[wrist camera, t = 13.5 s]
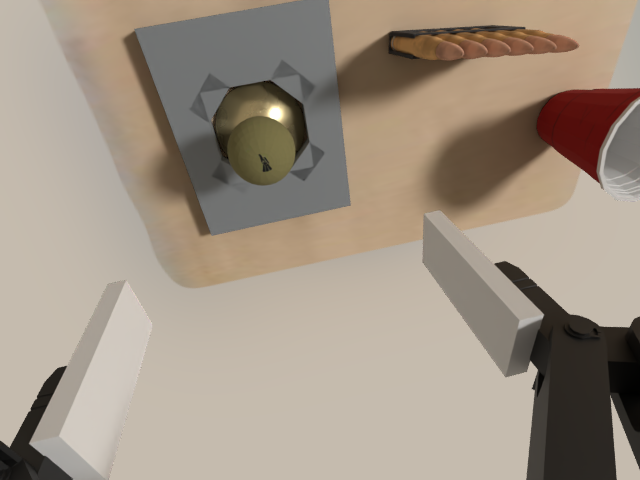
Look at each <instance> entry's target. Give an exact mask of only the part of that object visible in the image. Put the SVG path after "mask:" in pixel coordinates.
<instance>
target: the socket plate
mask: <svg viewBox="0 0 640 480" xmlns="http://www.w3.org/2000/svg"><path fill="white" fill-rule="evenodd" d="M134 30H135V32H136V35H137V38H138V40H139V43H140V46H141V48H142V51H143V54H144V56H145V59H146V62H147V64H148V67H149V70H150V72H151V75H152V78H153V80H154V83H155V86H156V88H157V91H158V94H159V96H160V99H161V102H162V104H163V107H164V110H165V112H166V115H167V118H168V120H169V123H170V126H171V128H172V131H173V134H174V136H175V139H176V142H177V144H178V147H179V150H180V152H181V155H182V158H183V160H184V163H185V166H186V168H187V171H188V174H189V176H190V179H191V182H192V184H193V187H194V190H195V192H196V195H197V198H198V200H199V203H200V206H201V208H202V211H203V214H204V216H205V219H206V222H207V224H208V227H209V230H210V232H211V235H212V236H213V235H217V234H222V233H226V232H231V231H235V230H240V229H245V228H249V227H254V226H258V225H263V224H267V223H272V222H277V221H281V220H286V219H290V218H295V217H300V216H304V215H309V214H313V213H318V212H322V211H327V210H332V209H336V208H341V207H345V206H350V205H351V204H350V195H349V185H348V176H347V167H346V157H345V148H344V139H343V129H342V120H341V111H340V101H339V92H338V83H337V73H336V64H335V55H334V45H333V36H332V27H331V17H330V8H329V0H301V1H295V2H289V3H284V4H278V5H272V6H266V7H260V8H254V9H249V10H243V11H237V12H231V13H225V14H220V15H214V16H208V17H202V18H196V19H190V20H185V21H179V22H173V23H167V24H161V25H155V26H150V27H144V28H138V29H134ZM267 80H271V81H273V82H274V83H275V84H277V85H278V86H276V85H274V84H271V83H267V82H262V81H267ZM235 86H238V87H236V88H235V89H233V90H232V91H231V92H229V93H228V94H227V96H226V97H225V98H224V96H225V95H226V93H227V91H228V89H229V88H230V87H235ZM280 87H281V88H280ZM291 95H292V96H293V97H294V98H296V99H297V100H298V101H300V102H301V103H302V108H303V114H304V119H303V115H302V112H301V110H300V108H299V106H298V104H297V103H296V101H295V100H294V98H293V97H292V96H291ZM223 98H224V99H223ZM222 100H223V101H222ZM220 103H221V104H220ZM219 105H220V106H219ZM218 107H219V108H218ZM217 109H218V112H217V115H216V124H215V127H216V134H217V137H216V134H215V131H214V127H213V124H212V121H211V119H212V118H213V116H214V114H215V112H216V110H217ZM255 116H265V117H270V118H272V119H275V120H277V121H278V122H280V123H282V124H283V125H284V126H285V127H286V128H287V130H288V131H289V132H290V134H291V136H292V138H293V140H294V144H295V160H294V164H293V166H292V168H291V170H290V172H289V173H288V174H287V175H286V176H285V177H284V178H283V179H282V180H280V181H278V182H277V183H274V184H271V185H265V186H261V185H255V184H251V183H249V182H247V181H245V180H244V179H242V178H241V177H240V176H239V175H237V174H236V172H235V171H234V169H233V168H232V166H231V164H230V162H229V159H228V158H226V157H224V156H222V153H221V150H220V147H219V144H220V146H221V147H222V149H223V151H224V152H225V153H226V155H227V156H228V154H227V147H228V141H229V138H230V135H231V133H232V131H233V130H234V128H235V127H236V126H237V125H238V124H239V123H240V122H242V121H244V120H245V119H248V118H250V117H255ZM304 120H305V126H306V132H307V139H306V141H305V142H304V144H303V145H302V147H301V144H302V141H303V138H304V128H305V126H304ZM217 138H218V140H217ZM218 141H219V144H218ZM300 147H301V148H300ZM299 149H300V150H299ZM298 150H299V151H298Z"/></svg>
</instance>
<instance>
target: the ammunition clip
mask: <svg viewBox="0 0 640 480" xmlns="http://www.w3.org/2000/svg"><path fill="white" fill-rule="evenodd" d="M578 47H579V44H578V43H577V42H576V41H575V40H573V39H571V38H569V37H566V36H562V35H554V34H549V33H545V32H543V31H540V30H526V29H525V27H512V26H495V25H491V26H474V27H457V28H440V29H423V30H406V31H391V32H390V39H389V53H390V54H394V55H398V56H402V57H406V58H410V59H419V58H423V59H428V60H437V59H438V60H456V59H459V58H466V59H475V58H480V57H500V56H504V55H509V56H517V55H524V54H543V53H548V52H552V53H558V52H567V51H571V50H574V49H576V48H578Z"/></svg>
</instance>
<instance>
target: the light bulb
mask: <svg viewBox="0 0 640 480" xmlns="http://www.w3.org/2000/svg"><path fill="white" fill-rule="evenodd" d="M227 154H228V158H229V162H230V164H231V166H232V168H233V169H234V171H235V172H236V174H237V175H239V176H240V177H241V178H242V179H244V180H245V181H247V182H249V183H251V184H255V185H261V186H265V185H271V184H274V183H277V182H278V181H280V180H282V179H283V178H284V177H285V176H286V175H287V174H288V173H289V172H290V170H291V168H292V166H293V164H294V160H295V144H294V140H293V138H292V136H291V134H290V132H289V131H288V130H287V128H286V127H285V126H284V125H283V124H282V123H280V122H278V121H277V120H275V119H272V118H270V117H265V116H255V117H250V118H248V119H245V120H244V121H242V122H240V123H239V124H238V125H237V126H236V127H235V128H234V130H233V131H232V133H231V135H230V138H229V141H228V147H227Z"/></svg>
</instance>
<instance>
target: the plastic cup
mask: <svg viewBox="0 0 640 480" xmlns="http://www.w3.org/2000/svg"><path fill="white" fill-rule="evenodd" d="M537 131H538V134H539V136H540V137H541V138H542V139H543V140H544V141H545V142H546V143H548V144H549V145H551V146H552V147H553V148H554V149H555V150H556V151H558V152H559V153H560V154H561V155H563V156H564V157H565V158H567V159H568V160H570V161H571V162H572V163H574V164H575V165H577V166H578V167H579V168H581V169H582V170H584V171H585V172H586V173H588V174H589V175H590V176H591V177H592V178H593V179H595V180H596V181H597V182H598V183H600V185H601V188H602V189H603V190H605V191H606V192H607V193H608V194H609V195H611V196H612V197H613V198H614V199H616V200H620V201H621V200H622V201H631V202H635V201H638V200H640V88H639V89H638V88H637V89H635V88H634V89H593V90H570V91H565V92H561V93H558V94H557V95H556V96H554V97H553V98H551V99H550V100H549V101H548V102H547V103H546V105H545V106H544V107H543V108H542V110H541V112H540V115H539V117H538V120H537Z"/></svg>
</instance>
